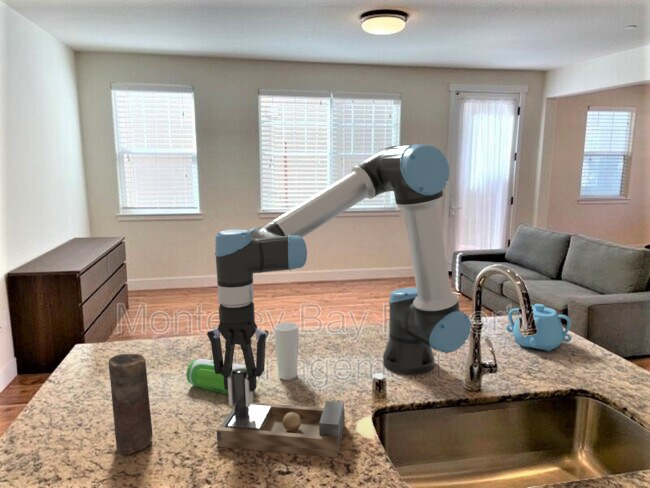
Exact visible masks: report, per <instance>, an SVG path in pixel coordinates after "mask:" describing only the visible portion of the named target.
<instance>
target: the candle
mask: <svg viewBox="0 0 650 488" xmlns="http://www.w3.org/2000/svg"><path fill="white" fill-rule="evenodd" d="M108 370H109V372H108V373H109V381H110V389H111V390H110V393H111V403H112V404H111V405H112V410H113V411H112V413H113V414H112V415H113V425H114V426H113V427H114V436H115V444H116V445H115V446H116V451H117V453H118V454H121V455H122V454H123V455H130V454H132V453H135V452H138V451H142V450H144V449H145V448H147V447H148V446H149V445H150V443H151V442H152V439H153V436H154V435H153V426H152V424H153V423H152V414H151V413H152V412H151V405H150V395H149V386H148V385H149V384H148V372H147V362H146V358H145V356H143V355H142V354H140V353H127V354H124V353H122V354H116V355H115V356H112V357H110V358H109V359H108Z"/></svg>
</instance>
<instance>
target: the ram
mask: <svg viewBox="0 0 650 488" xmlns="http://www.w3.org/2000/svg"><path fill="white" fill-rule="evenodd" d="M232 377H233V396H234V404H233V407H234V415H235V416H234V417H233V419H232V420H231V422H230V423H229V425H228V428H238V429H250V430H262V431H264V429H265V427H266V425H267V423H268V421H269V419H270V417H271V406H261V405H250V407H246V396H245V378H246V377H247V370H246V369H244V368H238V369H235V370H233V371H232Z"/></svg>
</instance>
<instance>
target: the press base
mask: <svg viewBox="0 0 650 488" xmlns="http://www.w3.org/2000/svg"><path fill="white" fill-rule="evenodd" d="M251 405H261V406H271V417H270V419H269V421H268V423H267V425H266V427H265V429H264V431H262V430H250V429H238V428H228V425H229V423H230V422H231V420H232V419H233V417H234V416H235V415H234V406H233V407H232V409H231V410H230V412H229V413H228V415H227V416H226V418H225V419H224V420H223V422H222V423H221V425H220V426H218V427H217V429H216V443H217V447H218V448H228V449H238V450H239V449H241V450H249V451H250V450H251V451H259V452H272V453H281V454H282V453H283V454H291V455H292V454H293V455H294V454H295V455H305V456H314V457H326V458H336V459H338V458H339V453H340V448H341V444H342V440H343V435H344V429H345V423H346V421H345V418H346V417H345V415H346V414H345V409H344V408H345V407H344V405H345V402H343V401H331V400H326V401H325V404H324V407H318V406H317V407H315V406H302V405H301V406H300V405H288V404H279V403H277V404H275V403H266V402H265V403H263V402H252V404H251ZM289 412H294V413H297V414H298V415H299V417H300V419H301V424H300V427H299V428H298V429H297V430H296V431H292V432H291V431H287V430H286V429H285V428H284V426H283V418H284V416H285V415H286V414H287V413H289Z"/></svg>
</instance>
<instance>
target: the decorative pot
mask: <svg viewBox="0 0 650 488" xmlns="http://www.w3.org/2000/svg"><path fill="white" fill-rule="evenodd" d="M531 306H532V309H533V313H534V320H535V325H536V328H537V333H536V334H535V335H531V336H526V337H524V336H523V335H522V334H521V333H520V332H519V316H518V315H517V318H516V319H515V322H514V319H513V313H514V312H517V313H520V312H519V309H520V308H518V307H515V308H512V309H510V310H509V311H508V315H507V316H508V320H509V323H510V324H507V325H506V331H507V332H508V333H512V336H513V337H514V339H515V341H516V342H517V343H518V344H519V345H520V347H523V348H532V349H537V350H542V351H544V352H551V351H552V350H555V349H556V348H558V347H559V346H560V345H561V344H562V342H564V343H569V342H571V341H572V336H571V334H569V333H568V332H569V330H570V328H571V325H572V321H571V319H570V317H568V316H567V315H566V314H558V312H557V311H556V310H555V309H554V308H551V307H547V306H546V305H545V304H542V303H534V305H531ZM561 319H564V320H565V321H566V322H567V324H566V327H565V329H564V327H563V324H562V321H561ZM510 327H511V328H510ZM566 337H567V338H566Z"/></svg>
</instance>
